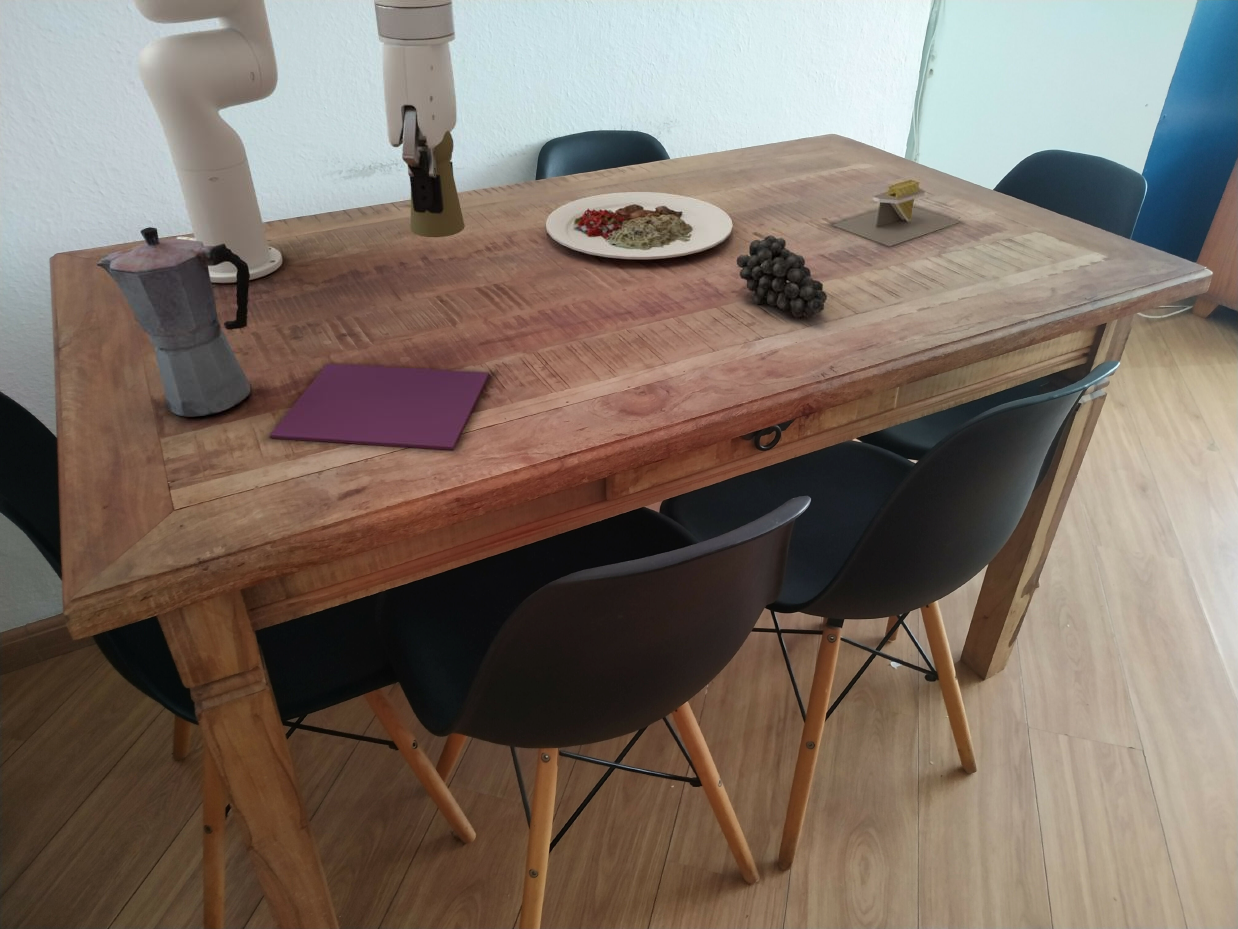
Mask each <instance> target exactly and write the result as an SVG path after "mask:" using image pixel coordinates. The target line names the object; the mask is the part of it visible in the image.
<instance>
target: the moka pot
mask: <svg viewBox="0 0 1238 929" xmlns="http://www.w3.org/2000/svg"><path fill="white" fill-rule="evenodd" d="M140 234H141V235H142V237H143V239H144V241H145V242H144V243H140V244H137V245H135V246H133V247H130V248H127V249H125V250H117V251H115V252H112V253H108V254H106V256H104V257H103V258H101V259H100V260H99V261H97V263H96V266H97V267H100V268H102V269H104V270H105V271H106V273H107V274H109V276H110V277H111V278H112V279H113V281H115V282H116V284H117V285H118V288H119V289H120V291H121V293H122V295H123V296H124V299H125V300H126V302H127V304H128V306H129V308H130V309H131V311H132V313H133V315H134V317H135V319H136V320H137V322H138V324H139V326H140V327H141V329H142V331H143V332H144V333H146V334H148V335H147V336H148V338H149V340H150V343H151V345H153V346H154V353H155V359H156V363H157V366H158V370H159V375H160V378H161V384H162V386H163V390H164V391H163V392H164V395H165V399H166V400H165V401H166V404H167V407H168V410H169V411H171V412H172V413H173V414H175V415H177V416H180V417H185V418H194V417H205V416H210V415H214V414H218V413H221V412H223V411H226V410H229V409H231V408H233V407H235V406H236V405H238V404H240V403H241V402H242V401H243V400H245V399H246V398H247V397H248V396H250V394H251V385H250V382H249V380H248V378H247V376H246V374H245V372H244V370H243V368H242V366H241V364H240V362H239V360H238V359H237V356H236V354H235V352H234V350H233V348H232V347H231V344H230V342H229V341H228V339H227V336H226V335H225V332H224V331H223V329H222V326H221V323H220V319H219V317H218V311H217V310H218V309H217V303H216V299H215V294H214V289H213V285H212V283H213V282H211V279H210V274H209V269H208V266H215V265H218V264H220V263H223V262H231V263H232V264H233V265H235V267H236V268H237V274H236V277H237V281H236V282H235V283H236V290H235V291H236V293H235V297H236V306H237V308H236V313H235V320H225V322H223V326H224V329H225V330H227V331H232V330H238V329H242V328H243V329H244V328H245V327H248V312H249V309H248V304H249V289H250V280H249V278H250V274H249V269H248V265H247V263H246V262H245V261H243V260H241V259H240V257H239V256H238V255H236V254H234V253H233V252H231V250H230V249H228V248H226V245H225V244H221V245H217V246H214V247H213V246H203V243H202V242H201V241H193V240H184V239H177V238H170V239H164V240H163V239H162V240H160V239H159V234H158V228H156V227H153V226H152V227H151V226H149V227H145V228H143V229H141V230H140Z"/></svg>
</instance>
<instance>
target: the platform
mask: <svg viewBox="0 0 1238 929" xmlns="http://www.w3.org/2000/svg"><path fill="white" fill-rule="evenodd" d="M925 193H926V191H925V190H924V189H922V188H920V181H918V180H916V179H911V178H910V179H907V180H903V181H900V182H896V183H894V184H890V185H888V189H887V191H885V192H882V193H878V194H875V195H873V196H872V201H873V202H877V203H879V205H878V210H876V211H872V212H870V213H866V214H862V215H860V216H857V217H853V218H850V219H847V220H844V221H840V222H837V223H833V224H832V226H834V227H836V228H839V229H841V230H844V231H847V232H849V233H851V234H855V235H858V236H860V237H862V238H865V239H868V240H870V241H874V242H877V243H879V244H881V245H885V246H887V247H892V246H895V245H898V244H901V243H903V242H907V241H910V240H912V239H916V238H918V237H921V236H924V235H927V234H930V233H932V232H936V231H938V230H942V229H945V228H948V227H950V226H954V225H956V224H959V223H960V222H959V221H958V220H954V219H951V218H948V217H946V216H942V215H939V214H936V213H933V212H929V211H927V210H924V209H920V208H917V207H914V203H915V199H918V198H922V197H924V196H925Z"/></svg>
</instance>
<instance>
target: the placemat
mask: <svg viewBox="0 0 1238 929" xmlns="http://www.w3.org/2000/svg"><path fill="white" fill-rule="evenodd" d="M489 377H490V372H485V371H484V372H483V371H469V370H468V371H466V370H451V369H450V370H449V369H434V368H433V369H430V368H413V367H395V366H379V365H378V366H376V365H361V364H360V365H358V364H341V363H326V364H325V366H324V367H323V368H322V369H321V371H320V372H319V373H318V374H317V376H316V377H315V378H314V379H313V381H311V383H310V384H309V385H308V387H307V388H306V389H305V390H304V391H303V393H302V394H301V396H299V398H298V399H297V400H296V402H294V404H293V405H292V406H291V408H290V409H289V410H288V411H287V412H286V414H285V415H284V416H283V418H282V419H281V420H280V422H278V424H277V425H276V426H275V428H274V429H273V430H272V431H271V433H270V434H269V438H270V439H278V440H294V441H306V442H307V441H309V442H323V443H339V444H355V445H356V444H357V445H369V446H387V447H400V448H401V447H402V448H418V449H433V450H446V451H454V449H455V447H456V445H457V444H458V441H459V439H460V437H461V436H462V433H463V431H464V429H465V426H466V424H467V422H468V421H469V418H470V416H471V414H472V412H473V410H474V408H475V406H476V404H477V402H478V400H479V398H480V396H481V393H482V392H483V390H484V388H485V385H486V384H487V381H488V379H489Z"/></svg>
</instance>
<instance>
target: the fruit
mask: <svg viewBox="0 0 1238 929" xmlns="http://www.w3.org/2000/svg"><path fill="white" fill-rule="evenodd" d="M786 246H787V243H786V239H784V238H782V237H779V238H776V237H775V235H767V236H766V237H764V239H762V240H760V239H755V240H753V241H751V242H750V243H749V249H748V251H749V252H748V254H740V255H739V256H738V257H736V265H737V266H738V267H739V268H741V270H740V271H739V277H740V279H742V280H745V281H746V288H747V289H748V290H749V291H750V292H753V294H752V296H751V297H752V301H753V303H756V304H757V305H761V304H764V303H765V302H766V303H767V304H768V305H769V306H777V307H778V308H779V309H780V310H787V309H789V308H790V310H791V313H792V316H793V317H795V318H797V319H798V318H799V319H800V318H802V317H803V316H804V317H805V318H806V319H812V318H814V317H816V316H817V315H818V314H820V313H822V312H823V311H824V310H825V303H826V301H827V298H828V295H827V293H826V292H825V291H824V284H823V283H822V282H820V280H816V279H813V278H812V274H811V270H810V268H808V267H807V266H805V265H806V260H805V258H804V257H803V255H800V254H796V253H795V252H793V251H791V250H789V249H787V248H786Z"/></svg>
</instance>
